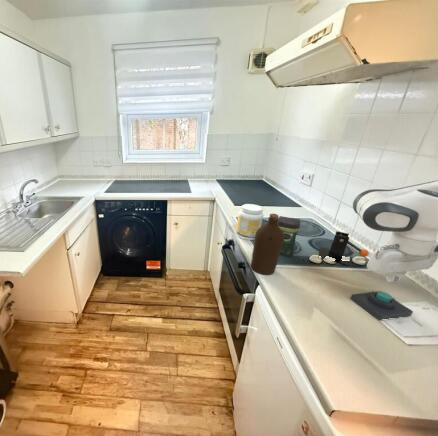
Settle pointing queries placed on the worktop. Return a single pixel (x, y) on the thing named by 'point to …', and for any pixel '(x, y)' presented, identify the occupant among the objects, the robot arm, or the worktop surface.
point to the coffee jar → (288, 234)
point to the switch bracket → (337, 249)
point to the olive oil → (267, 247)
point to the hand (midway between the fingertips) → (391, 280)
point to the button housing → (380, 306)
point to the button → (384, 297)
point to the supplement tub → (249, 221)
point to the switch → (358, 249)
